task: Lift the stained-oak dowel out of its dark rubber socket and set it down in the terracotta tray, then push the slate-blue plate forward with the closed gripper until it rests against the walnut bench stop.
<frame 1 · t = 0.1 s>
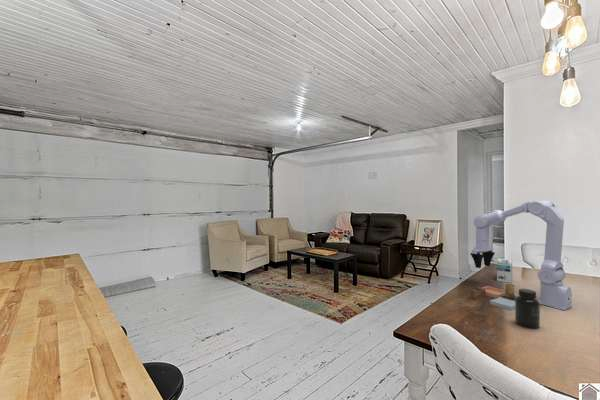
hand: (482, 266, 144), 10 cm above the table, tool pointing down, fingers open, 7 cm apart
dowel: (509, 292, 124), in the socket
supplement bottle: (527, 325, 101), on the table
bench stop: (478, 297, 128), on the table
plate: (505, 306, 119), on the table
light bulb box: (504, 280, 155), on the table
socket: (509, 300, 124), on the table
tray: (492, 294, 132), on the table
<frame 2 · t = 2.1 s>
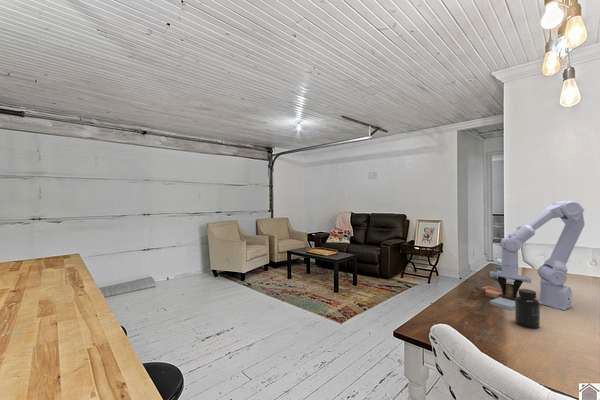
hand: (509, 295, 124), 2 cm above the table, tool pointing down, fingers closed on dowel, 3 cm apart
dowel: (509, 292, 124), in the socket, touching gripper
everything else where it was.
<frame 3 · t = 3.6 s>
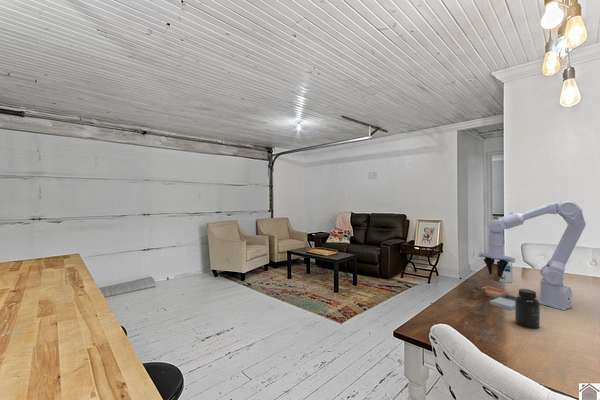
hand: (495, 275, 131), 9 cm above the table, tool pointing down, fingers closed on dowel, 3 cm apart
dowel: (495, 272, 131), point 11 cm above the table, touching gripper
everything else where it was.
when the fingers open (4 cm above the table, at t = 5.0 s): dowel drops 1 cm, resting on tray.
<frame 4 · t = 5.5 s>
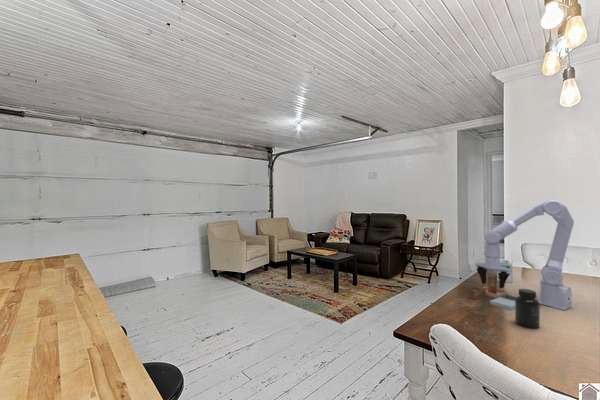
hand: (492, 285, 132), 4 cm above the table, tool pointing down, fingers open, 7 cm apart
dowel: (492, 285, 132), in the tray, point 4 cm above the table
everything else where it was.
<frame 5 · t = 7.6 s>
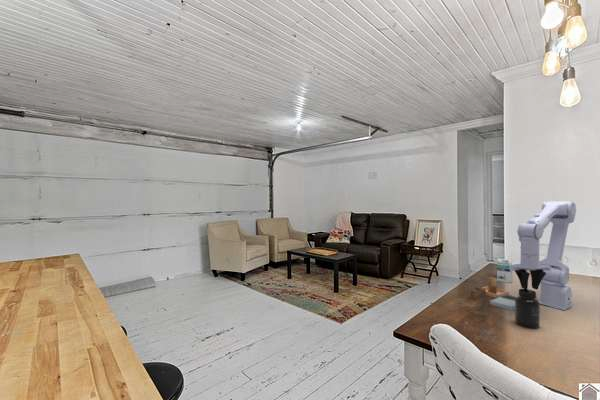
hand: (529, 288, 111), 9 cm above the table, tool pointing down, fingers open, 3 cm apart
nothing on the table moved.
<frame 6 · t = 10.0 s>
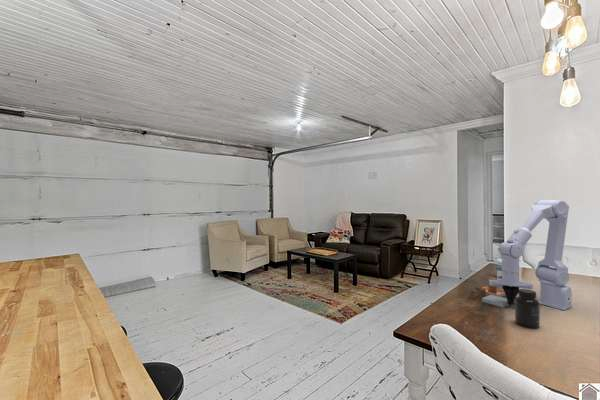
hand: (510, 304, 117), 1 cm above the table, tool pointing down, fingers closed
plate: (496, 303, 122), on the table
everything else where it was.
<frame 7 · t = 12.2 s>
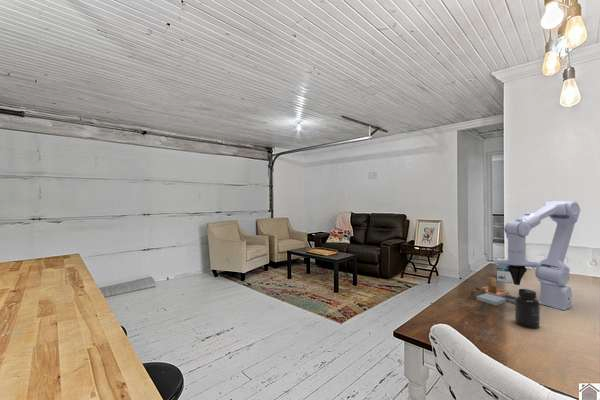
hand: (516, 284, 115), 10 cm above the table, tool pointing down, fingers closed
plate: (490, 301, 124), on the table
everything else where it was.
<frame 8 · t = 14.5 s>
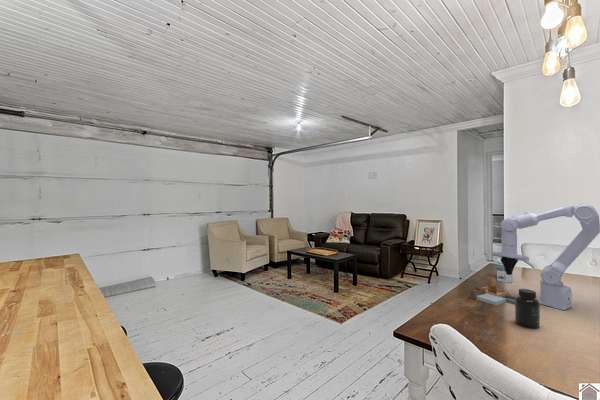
hand: (509, 274, 130), 10 cm above the table, tool pointing down, fingers closed
nothing on the table moved.
at the end: dowel inside the target area on the tray (0.1 cm from its centre), point 4.1 cm above the tray's base; plate 0.6 cm from the target spot, on the table; the gripper is holding nothing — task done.
